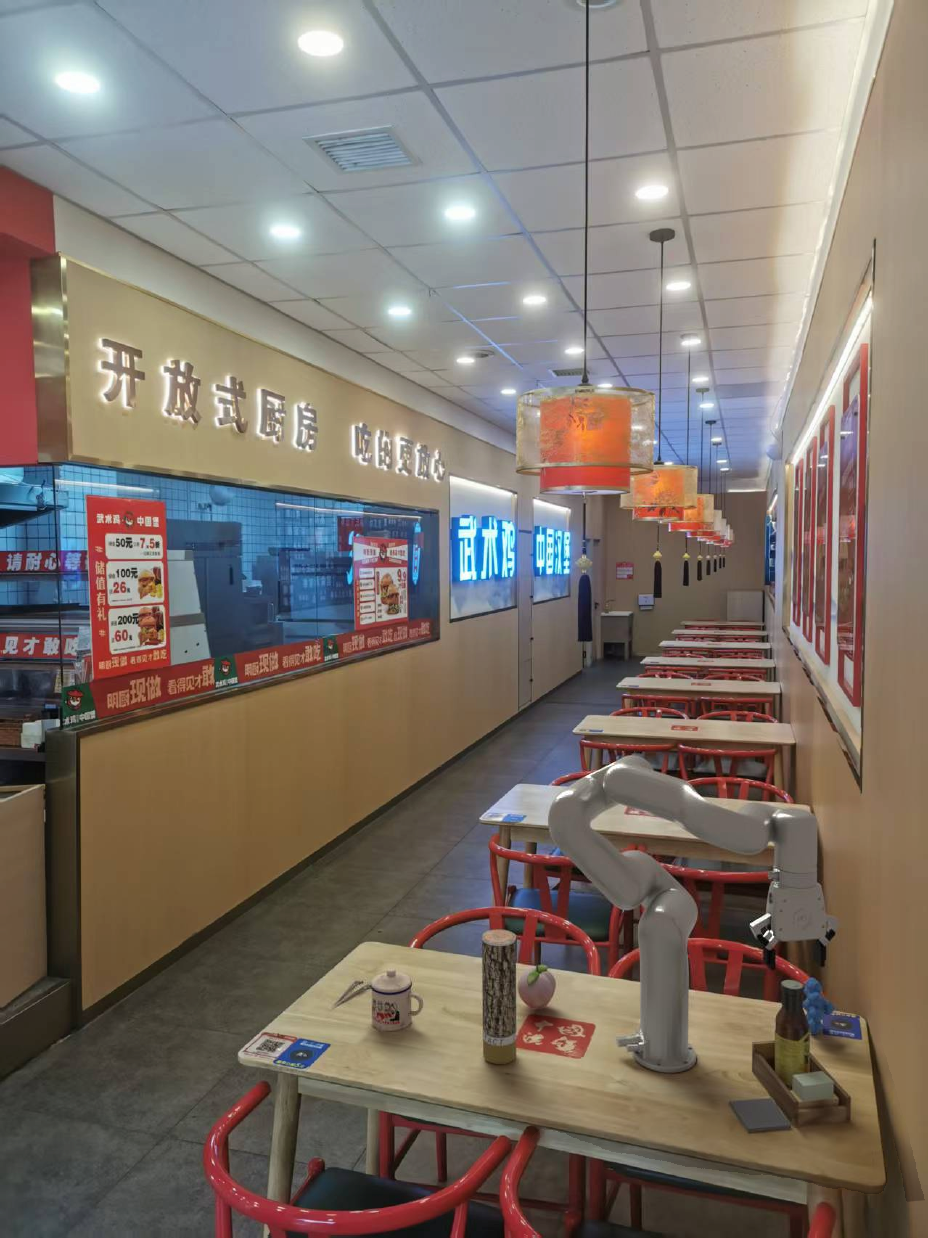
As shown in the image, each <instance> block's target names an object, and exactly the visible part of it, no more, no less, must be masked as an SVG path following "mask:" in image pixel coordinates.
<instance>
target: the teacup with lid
mask: <svg viewBox="0 0 928 1238" xmlns="http://www.w3.org/2000/svg"><path fill="white" fill-rule="evenodd" d="M370 982H371V984H370V983H369V984H370V989H371V1022H372V1025H373V1026H374V1027H375V1028H376V1029H378V1030H380V1031H385V1032H396V1031H400V1030H403V1029H406V1027H407V1028H408V1026H409V1025H410V1024H411V1022H412V1018H413V1017H414V1016H415V1017H416V1016H417V1015H419V1014H420V1013H421V1012H422V1011H423V1008H424V1000H423V997H422V996H421V995H420V994H418V993H417V992H414V991H412V986H413V981H412V978H411V977H410V976H409V975H408V974H406V973H403V972H401V971H400V972H399V971H396V969H395V968H392V967H390V968H387V970H386V972H383V973H378V974H377V975H375V976H374V977H373V978H372V980H371V981H370ZM412 998H414V999H416V1000H417V1002H418V1008H417V1010H412Z"/></svg>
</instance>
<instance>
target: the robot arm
mask: <svg viewBox="0 0 928 1238" xmlns="http://www.w3.org/2000/svg"><path fill="white" fill-rule="evenodd" d="M618 805H619V806H620V805H622V806H625V807H628V808H630V809H633V810H636V811H639V812H643V813H645V814H650V815H652V816H655V817H658V818H661V819H664V820H666V821H669V822H672V823H674V824H676V825H678V827H680V828H681V829H683V830H684V831H685V832H687V833H690V834H691V835H693V836H694V837H695V838H698V839H699V840H701V841H703V842H705V843H707V844H709V845H711V846H715V847H719V848H721V849H723V850H728V851H730V852H734V853H737V854H741V855H747V856H751V855H756V854H759V853H761V852H762V851H764V850H765V849H766V848H767V846H768V845H769V843H773V850H774V853H773V856H774V857H773V864H774V865H773V866H772V870H771V871H767V874H766V875H767V878H768V880H772V881H771V882H770V885H769V889H768V892H767V893H768V894H767V898H766V899H767V901H766V909H765V910H766V911H765V914H764V915H763V916H760V917H759V918H758V919H756V920H754V921H753V922H751V923H749V928H750V930H751V932H752V934H753V936H754V938H755V939H756V940H757V941H758V942H759V943H760V944H762V961H763V963H764V964H765V966H767V968H768V969H769V970H770V971H775V970H776V968H777V967H776V964H777V963H776V961H777V953H776V952H777V951H776V949H775V948H774V947H775V946H776V945H777V943H778V942H799V941H813V942H812V960H813V962H814V963H815V964H816V965H818V966H819V967H821V968H824V967H825V966H826V960H827V947H828V946H829V945H830V941H831V940H832V939H834V937H835V936H836V932H837V930H838V928H839V926H840V924H841V921H840V920H839V919H837V918H836V917H835V916H832V915H829V914H828V913H826V905H825V903H826V902H825V898H824V897H825V896H824V893H823V888H822V885H821V884H820V883H819V882H818V819H817V817H816V815H815V814H814V813H812V812H810V811H808V810H805V809H801V808H781V807H777V806H774V805H770V804H765V803H762V802H753V801H752V802H747V803H745V804H743V805H742V806H741V807H739V808H738V810H737V811H734V810H730V809H728V808H724V807H722V806H719V805H716V804H715V803H712V802H711V801H709V800H707V799H705V798H704V797H703V796H701V795H700V794H699V792H697V790H696V788H694V786H693V785H692V784H691V783H690V782H689V781H688V780H685V779H681V778H679V777H675V776H672V775H668V774H667V773H662V772H659V771H656V770H654V768H653V766H652V764H651V763H650V762H649V761H648V760H647V759H645V758H644V757H642V756H639V755H634V754H633V755H626V756H623V757H621V758H618V760H616V761H614V762H612V763H610V764H609V765H606V766H603V767H601V768H600V769H598V770H596V771H594V772H592V773H589V774H588V775H586V776H583V777H581V778H580V779H578V780H577V781H575V782H573V783H572V784H570V785H569V786H567V787H565V788H564V789H562V790H561V792H559V793H558V794H557V796H555V798H554V799H553V801H552V803H551V805H550V808H549V811H548V815H547V826H548V830H549V835H550V837H551V839H552V841H553V843H554V844H555V846H556V847H557V848H558V850H559V851H560V852H561V853H562V854H563V855H564V856H565V857H566V858H567V859H568V860H569V861H570V862H572V864H574V865H575V867H577V868H578V869H579V870H580V871H581V872H582V873H583V874H584V876H585V877H586V878H587V879H588V880H589V881H590V882H591V883H592V884H593V886H595V888H597V890H599V892H600V893H602V895H604V897H605V898H606V899H607V900H608V901H609V902H610V903H611V904H612V905H614V906H615V907H616V908H618V909H620V910H623V911H631V910H634V909H636V908H637V907H639V906H640V905H641V906H642V907H643V908H644V911H643V913H642V914H641V915H640V918H639V922H638V926H637V942H638V950H639V980H640V981H639V982H640V985H639V986H640V989H639V990H640V991H639V992H640V994H639V995H640V996H639V998H640V999H639V1001H640V1002H639V1004H640V1005H639V1006H640V1008H639V1009H640V1010H639V1011H640V1013H639V1014H640V1015H639V1016H640V1017H639V1018H640V1019H639V1022H640V1023H639V1025H640V1026H639V1028H635V1033H632V1034H631V1036H630V1035H629V1036H626V1035H625V1036H623V1035H621V1036H616V1045H617V1047H618V1048H626V1052H627V1053H632V1055H633V1056H632V1057H633V1058H634V1059H635V1061H637V1063H639V1065H641V1066H643V1067H645V1068H646V1069H650V1070H652V1071H656V1072H659V1073H668V1074H669V1073H671V1074H673V1073H680V1072H684V1071H687V1070H689V1069H691V1068H692V1067H693V1066H694V1065H695V1063H696V1062H697V1052H696V1050H695V1048H694V1047H693V1046H692V1044H691V1043H689V1005H690V1004H689V1002H690V1001H689V994H690V993H689V991H690V990H689V987H690V986H689V982H690V981H689V977H690V976H689V975H690V974H689V971H690V970H689V959H688V939H689V937H690V935H691V933H692V931H693V929H694V927H695V925H696V922H697V920H698V915H699V913H698V912H699V911H698V906H697V904H696V902H695V901H696V900H695V899H694V898H693V896H692V895H691V894H690V893H689V892H688V891H687V890H686V889H685V887H683V885H682V884H681V883H680V882H679V881H678V880H677V879H675V877H674V876H673V875H671V874H670V873H669V871H667V870H666V869H665V867H663V866H662V865H661V864H660V863H659V861H657V860H656V859H655V858H654V857H653V856H651V855H649V854H647V853H646V852H643V851H641V850H637V849H636V850H635V849H632V850H626V851H624V852H623V853H622V852H620V850H619V849H618V848H616V847H615V846H614V845H613V844H612V842H611V841H610V840H609V839H607V838H606V836H604V835H603V834H601V833H599V832H597V831H596V830H595V829H593V828H592V827H591V823H592V822H593V820H595V819H596V818H597V817H599V816H600V815H601V814H603V813H605V812H606V811H608V810H611V809H612V808H614V807H617V806H618ZM827 923H828V924H827ZM764 927H765V929H766V932H765V933H764V935H763V933H762V928H764Z"/></svg>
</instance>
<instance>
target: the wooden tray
mask: <svg viewBox="0 0 928 1238" xmlns="http://www.w3.org/2000/svg"><path fill="white" fill-rule="evenodd" d="M751 1047H752V1048H751V1052H752V1053H751V1072H752V1074H753V1075H754V1076H755V1077H756V1079H757V1080H758V1081H759V1083H760V1085H762V1087H763V1088H764V1089H765V1091H766V1092H767V1093H768V1095H769V1096H770V1098H771V1099H772V1100H773V1102H774V1103H775V1104H776V1106H777V1107H778V1108H779V1109H780V1111H781V1112H782V1113H783V1115H784V1116H785V1117H786V1119H787V1120H788V1121H789V1123H790V1124H791V1126H792V1127H802V1126H812V1125H813V1126H816V1125H825V1124H837V1123H838V1124H840V1123H847V1122H848V1123H849V1122H851V1117H852V1116H851V1113H852V1112H851V1111H852V1097H851V1095H850V1094H848V1092H847V1091H846V1090H845V1089H844V1088H843V1087H842V1086H841V1084H839V1082H838V1081H837V1080H836V1079H835V1078H834V1077H833V1076H832V1075H831V1074H830V1072H828V1070H827V1069H826V1068H825V1067H824V1066H823V1065H822V1064H821V1062H820V1061H818V1059H817V1058H816V1057H815V1056H814V1055H813V1054H812V1053H811V1052H810V1073H811V1072H818V1071H823V1072H824V1073H825V1074H826V1075H827V1076H828V1077H829V1078H830V1079H831V1080H832V1081H833V1082H834V1094H835V1095H836V1096H837V1097H838V1098H839V1106H834V1107H822V1108H810V1109H798V1104H799V1101H798V1100H797V1099H796V1098H795V1096H794V1095H793V1094H792V1093H791V1092H790V1090H789V1089H788V1088H787V1087H786V1085H785V1084H784V1083H783V1082H782V1080H781V1079H780V1078H779V1077H778V1075H777V1074H776V1073H775V1039H774V1040H763V1041H761V1040H760V1041H752V1043H751Z"/></svg>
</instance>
